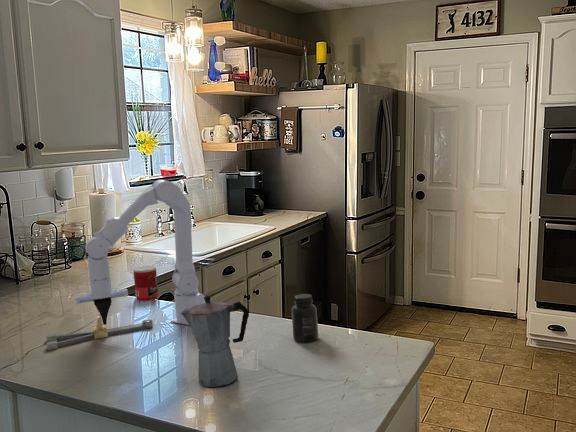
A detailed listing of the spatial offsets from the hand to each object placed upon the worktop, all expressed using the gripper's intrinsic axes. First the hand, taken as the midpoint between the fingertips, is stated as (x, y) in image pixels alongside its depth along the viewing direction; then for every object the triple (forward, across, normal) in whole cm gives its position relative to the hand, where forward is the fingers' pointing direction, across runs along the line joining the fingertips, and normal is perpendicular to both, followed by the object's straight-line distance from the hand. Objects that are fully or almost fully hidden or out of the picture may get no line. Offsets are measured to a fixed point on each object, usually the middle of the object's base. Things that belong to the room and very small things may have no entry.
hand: (104, 323), depth 167 cm
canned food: (+4, -18, -34) cm, 39 cm away
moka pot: (+4, -20, +48) cm, 52 cm away
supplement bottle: (+4, -49, +34) cm, 60 cm away
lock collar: (+3, +2, 0) cm, 4 cm away
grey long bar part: (+3, +1, 0) cm, 4 cm away
